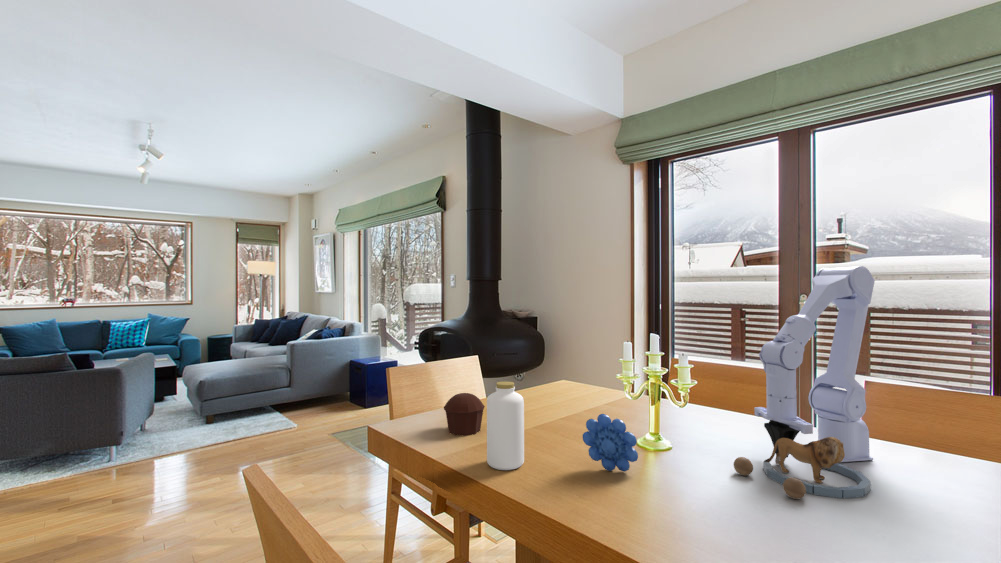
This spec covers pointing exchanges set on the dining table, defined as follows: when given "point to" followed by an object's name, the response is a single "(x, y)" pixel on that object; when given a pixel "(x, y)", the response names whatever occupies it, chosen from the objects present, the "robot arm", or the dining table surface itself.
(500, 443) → the white bottle
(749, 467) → the walnut bead
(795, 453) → the lion figurine
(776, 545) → the dining table surface
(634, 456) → the blue flower
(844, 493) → the groove ring
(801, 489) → the walnut bead
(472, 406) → the muffin
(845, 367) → the robot arm
